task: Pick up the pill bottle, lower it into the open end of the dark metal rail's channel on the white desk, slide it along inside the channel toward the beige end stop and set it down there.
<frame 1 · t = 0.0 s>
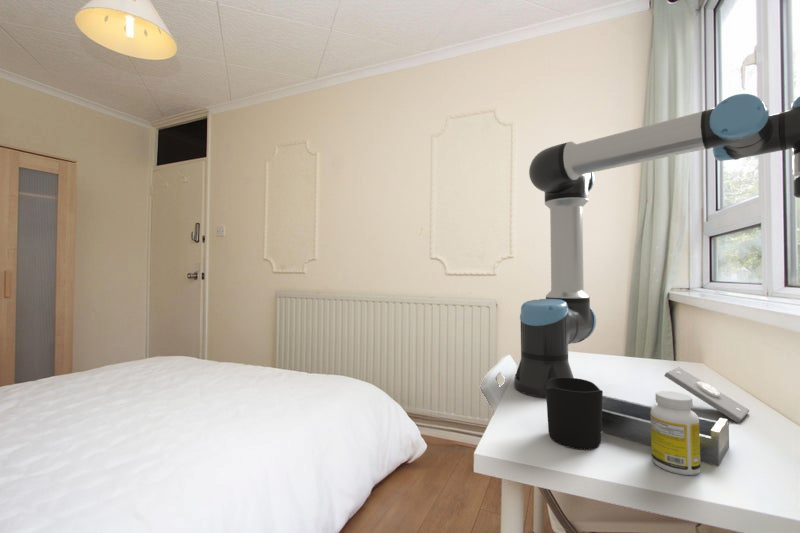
pen holder: (574, 440, 68), on the table
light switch: (705, 411, 83), on the table
rail: (650, 435, 69), on the table
pill bottle: (675, 467, 58), on the table
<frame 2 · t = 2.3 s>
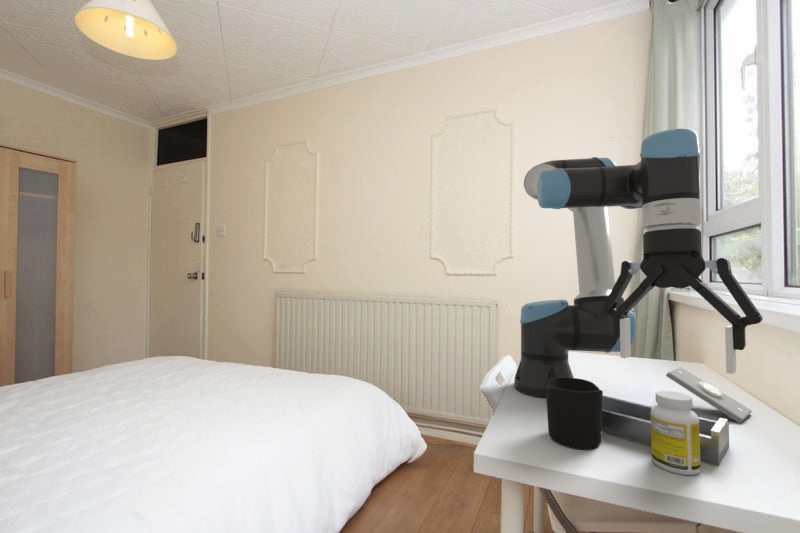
hand: (673, 364, 58), 16 cm above the table, tool pointing down, fingers open, 13 cm apart
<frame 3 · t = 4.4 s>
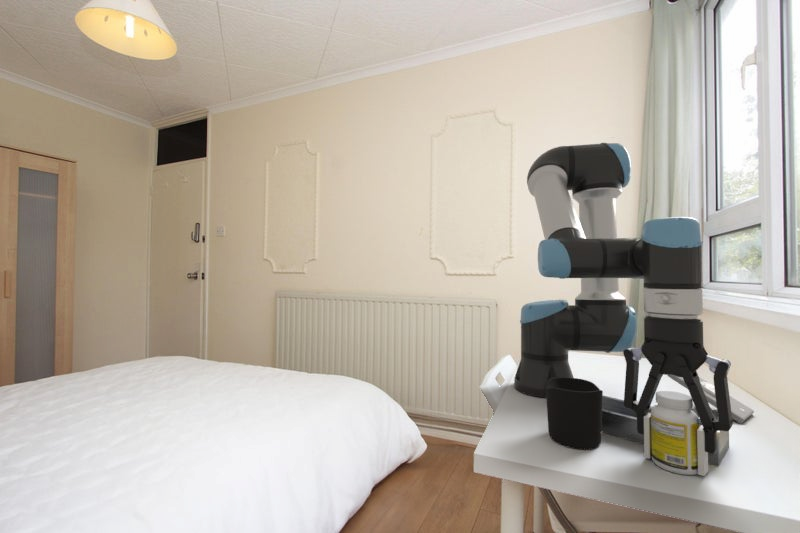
hand: (675, 463, 58), 0 cm above the table, tool pointing down, fingers closed on pill bottle, 6 cm apart
pill bottle: (675, 467, 58), on the table, touching gripper
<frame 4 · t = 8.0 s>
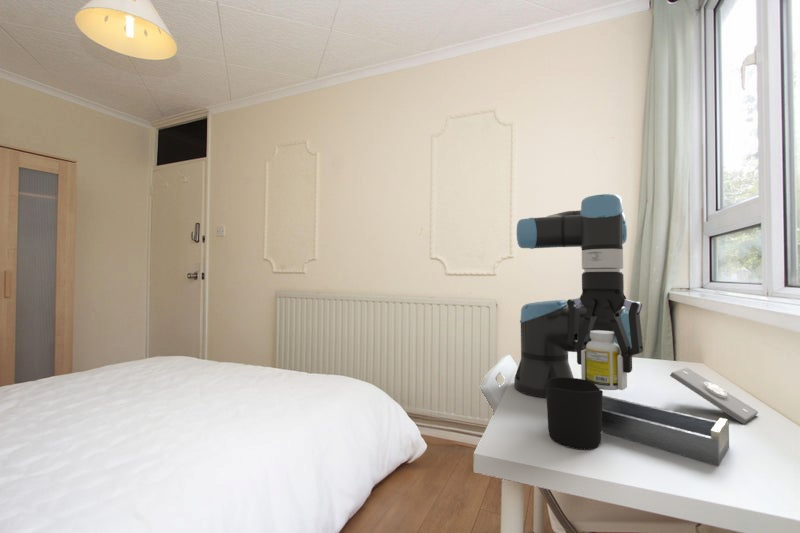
hand: (603, 384, 75), 8 cm above the table, tool pointing down, fingers closed on pill bottle, 6 cm apart
pill bottle: (603, 387, 75), point 7 cm above the table, touching gripper
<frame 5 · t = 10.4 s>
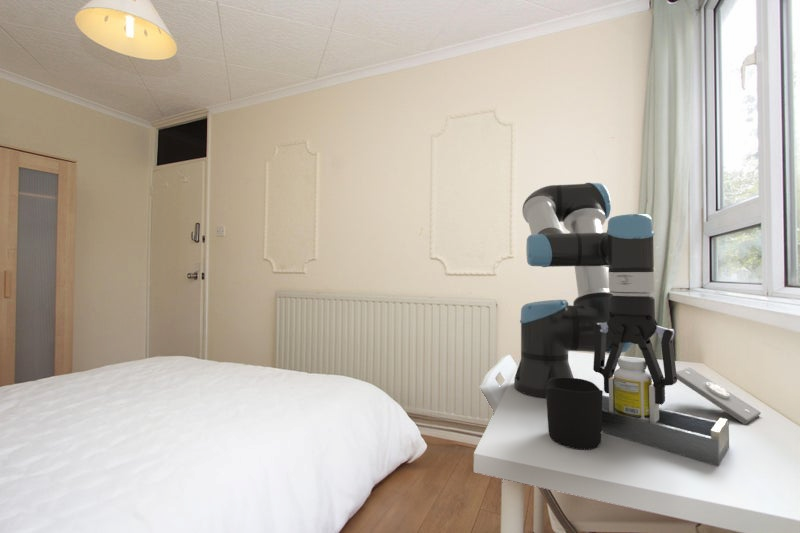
hand: (633, 415, 71), 3 cm above the table, tool pointing down, fingers closed on pill bottle, 6 cm apart
pill bottle: (633, 418, 71), point 3 cm above the table, touching gripper
when the fingers open (3 cm above the table, at t = 12.0 s): pill bottle stays where it is, resting on rail.
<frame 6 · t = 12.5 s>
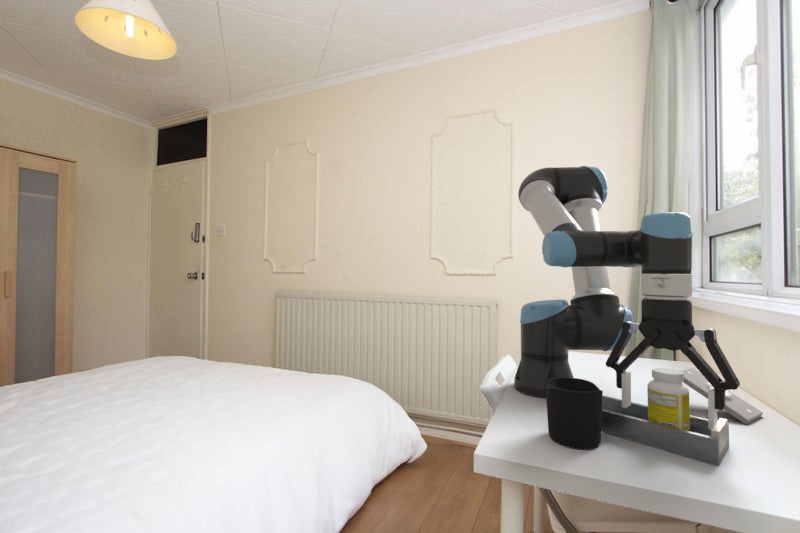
hand: (666, 416, 67), 4 cm above the table, tool pointing down, fingers open, 12 cm apart
pill bottle: (668, 433, 67), point 1 cm above the table, touching rail
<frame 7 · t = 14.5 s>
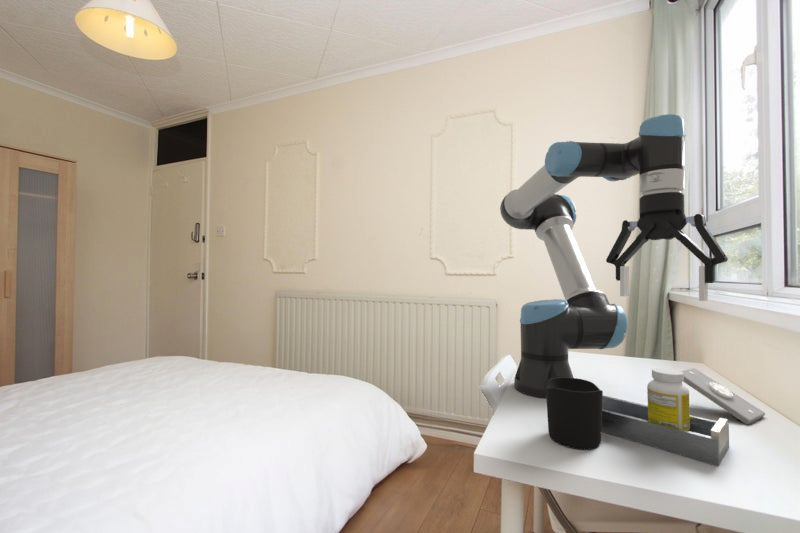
hand: (661, 298, 76), 25 cm above the table, tool pointing down, fingers open, 13 cm apart
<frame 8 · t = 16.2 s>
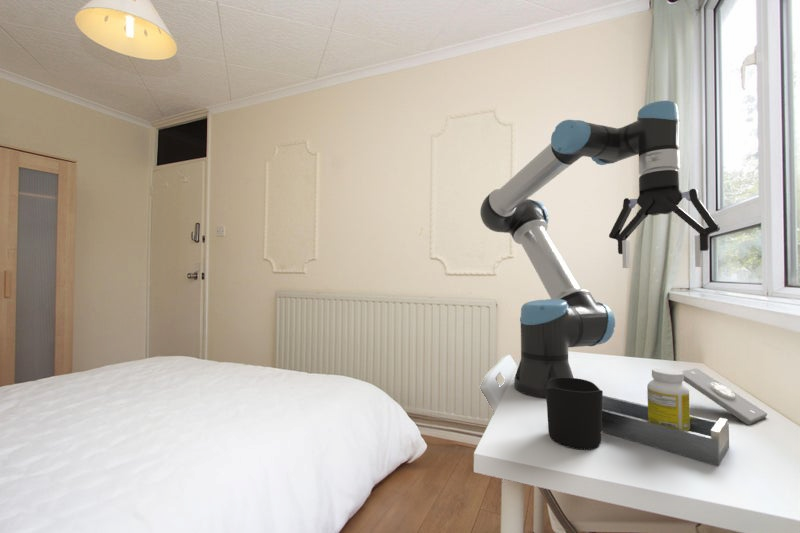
hand: (660, 267, 83), 32 cm above the table, tool pointing down, fingers open, 13 cm apart
at the end: pill bottle inside the target area (0.9 cm from its centre), point 1.3 cm above the table; pill bottle tilted 0°; the gripper is holding nothing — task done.
